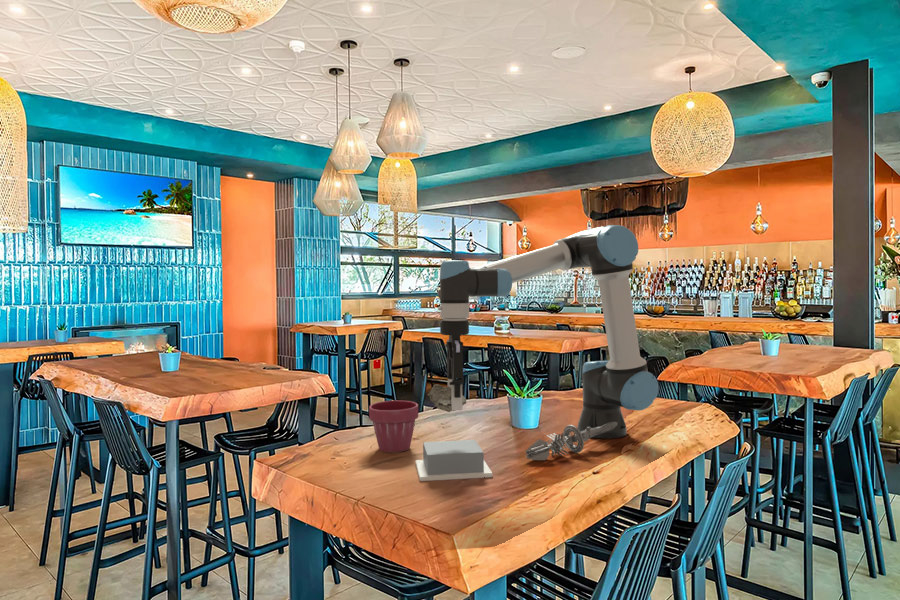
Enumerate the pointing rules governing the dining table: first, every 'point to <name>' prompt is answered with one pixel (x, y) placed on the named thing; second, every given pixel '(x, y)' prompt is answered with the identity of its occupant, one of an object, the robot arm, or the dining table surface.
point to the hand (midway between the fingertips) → (454, 406)
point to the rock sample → (442, 397)
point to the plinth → (452, 461)
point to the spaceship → (565, 441)
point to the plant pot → (393, 424)
